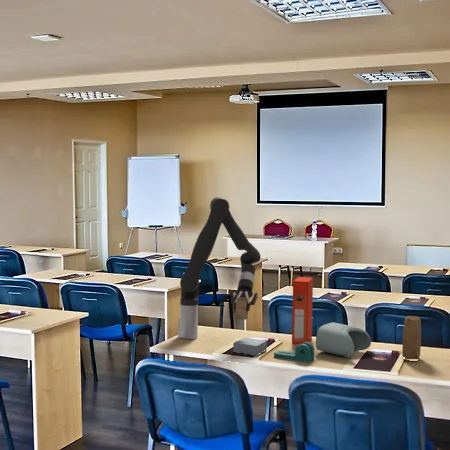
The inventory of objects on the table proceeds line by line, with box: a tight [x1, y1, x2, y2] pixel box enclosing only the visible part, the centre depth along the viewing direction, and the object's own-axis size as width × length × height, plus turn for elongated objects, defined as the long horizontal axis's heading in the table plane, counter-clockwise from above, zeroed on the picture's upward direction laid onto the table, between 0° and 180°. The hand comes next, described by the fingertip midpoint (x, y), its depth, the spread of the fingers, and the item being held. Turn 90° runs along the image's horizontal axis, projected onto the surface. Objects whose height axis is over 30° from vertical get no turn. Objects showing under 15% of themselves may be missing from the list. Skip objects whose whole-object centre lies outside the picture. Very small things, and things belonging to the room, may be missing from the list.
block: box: [401, 315, 422, 360], centre depth 301 cm, size 11×8×20 cm
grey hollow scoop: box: [315, 321, 372, 358], centre depth 310 cm, size 22×19×13 cm
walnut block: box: [235, 297, 249, 321], centre depth 316 cm, size 5×5×10 cm
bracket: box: [273, 341, 315, 364], centre depth 298 cm, size 18×7×8 cm, turn 64°
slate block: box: [232, 337, 268, 356], centre depth 309 cm, size 12×12×5 cm
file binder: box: [291, 276, 314, 346], centre depth 332 cm, size 8×17×32 cm, turn 165°
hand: (241, 310), depth 315 cm, fingers closed on walnut block, 5 cm apart
